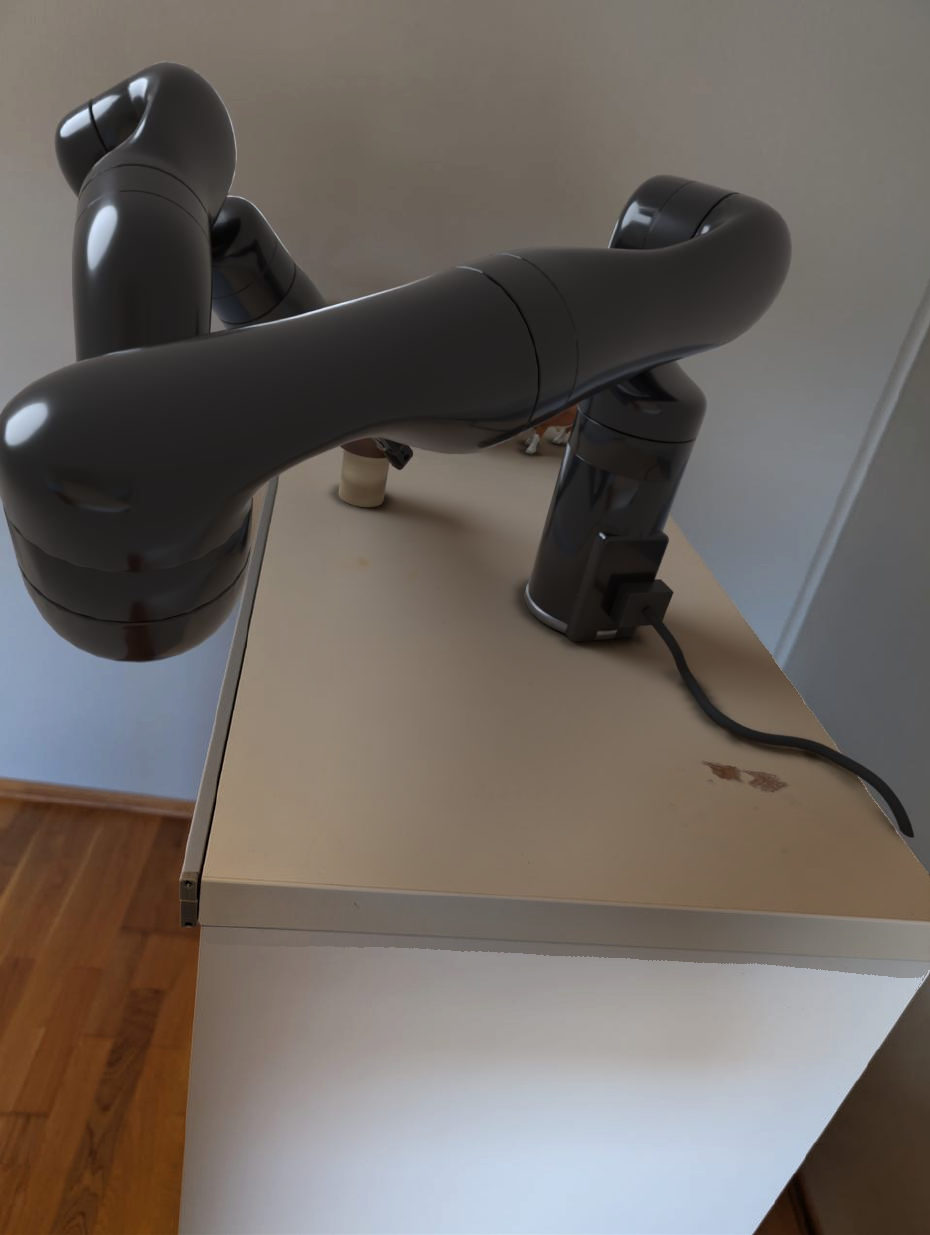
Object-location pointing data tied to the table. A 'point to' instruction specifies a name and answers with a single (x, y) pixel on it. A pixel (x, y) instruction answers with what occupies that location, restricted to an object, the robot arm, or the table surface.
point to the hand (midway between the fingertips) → (374, 443)
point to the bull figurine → (558, 422)
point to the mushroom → (363, 474)
